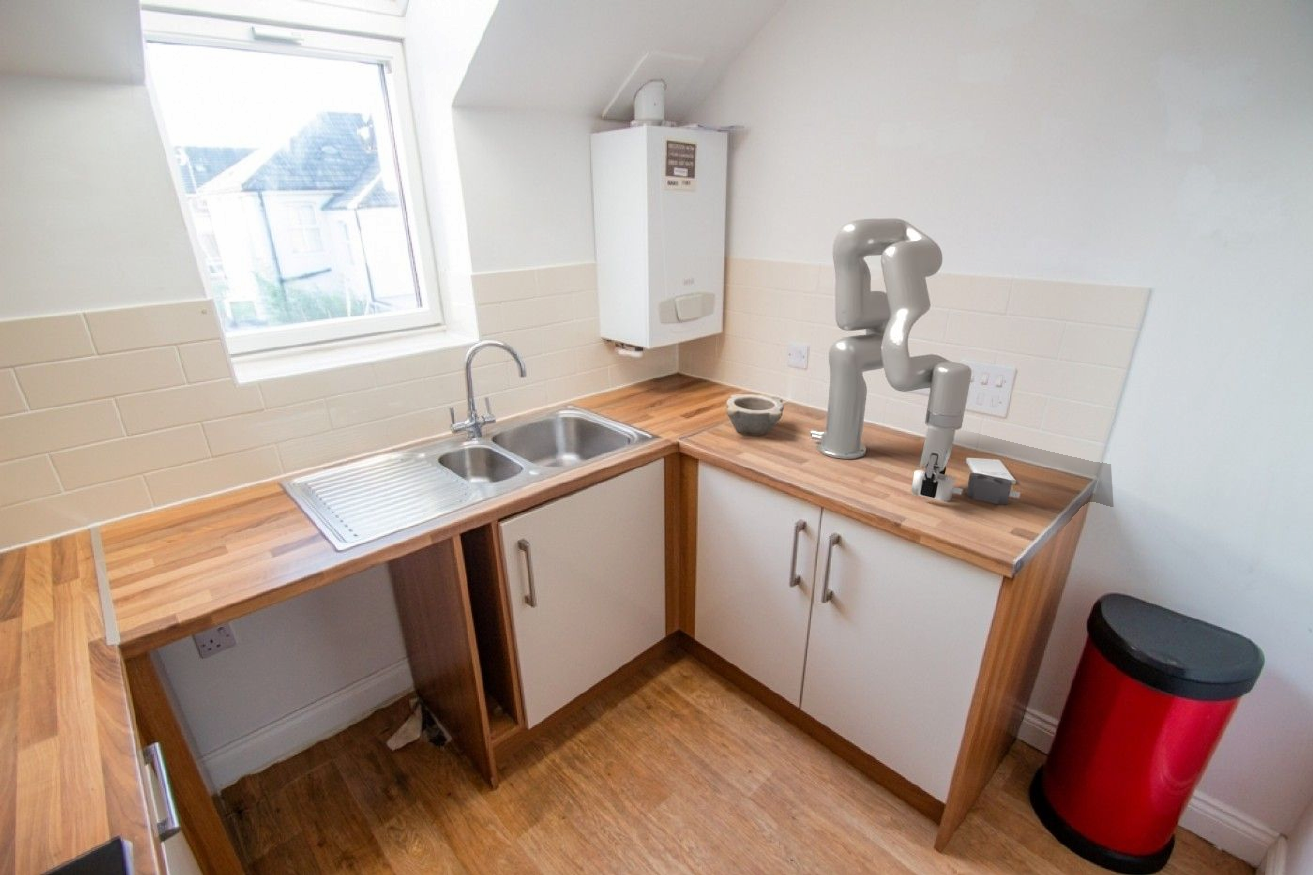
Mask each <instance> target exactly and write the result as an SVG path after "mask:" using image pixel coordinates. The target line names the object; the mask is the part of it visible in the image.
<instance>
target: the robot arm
mask: <svg viewBox="0 0 1313 875" xmlns="http://www.w3.org/2000/svg"><path fill="white" fill-rule="evenodd" d="M872 256H880V265H881V270H882V276H883V282H884V286H885V291H886V292H885V291H882V290H872V287H871V285H872V284H871V283H872V282H871V281H872V276H871V275H872V274H871V272H870V267H869V266H868V263H867V262H866V260H865V259H864V258H866V257H872ZM832 260H833V266H834V272H835V273H834V274H835V275H834V276H835V281H834V282H835V284H834V285H835V286H834V287H835V288H834V290H835V292H834V298H835V301H834V302H835V303H834V306H835V309H834V310H835V311H834V312H835V313H834V314H835V317H834V318H835V323H836V326H837V327H838V328H839V329H840V330H843V331H848V332H852V331H853V332H854V331H855V332H856V331H863V330H864V331H865V334H858V335H857V334H856V335H849V336H844V337H842V338H839V339H837V340H836V341H835V342H834V343H832V345H831V346H830V349H829V350H828V351H829V352H828V364H829V376H830V377H829V394H828V403H827V414H826V423H825V424H826V425H825V430H823V431H820V430H816V429H811V430H810V437H811V439H812V440H815V441H816V440H817V441H819V442H818V447H817V449H818V451H819V452H820V453H821V454H824V455H826V456H827V457H831V458H835V459H842V460H843V459H844V460H854V459H859V458H861V457H864V456H865V455H866V453H867V452H866V451H867V448H866V446H865V445H864V444H862V436H863V428H864V419H865V411H866V404H867V396H868V395H867V394H868V387H867V383H866V380H865V379H864V376H863V373H865V372H868V371H875V370H880V369H883V371H884V374H885V377H886V380H887V382H888V384H889V385H890V387H891V388H893V390H895V391H897V392H901V393H903V392H904V393H905V392H912V391H917V390H924V389H929V394H928V395H929V396H928V401H927V405H926V406H927V408H926V413H925V421H924V424H925V425H926V426H927V429H926V430H927V431H926V434H925V439H924V443H923V448H922V453H921V457H920V462H919V467H920V468H921V469H923V468H925V473H924V477H923V479H922V485H921V491H920V494H921V495H923V496H927V497H926V498H928V497H931V498H930V499H932V498H935V496H936V491H937V486H938V481H937V479H938V475H939V473H940V474H944V475H946V469H947V464H948V462H949V459H950V456H951V453H952V449H953V444H954V439H955V435H956V431H958V430H960V429H962V428H963V421H964V416H965V411H966V407H967V406H966V405H967V400H968V396H969V390H970V385H971V379H972V373H973V372H972V369H971V367H970V366H969V365H967V364H964V363H960V362H954V361H951V360H949V359H946V358H945V357H943V356H941V355H938V354H933V353H932V354H931V353H930V354H924V355H917V356H915V355H913V356H910V352H909V345H908V344H909V342H908V341H909V335H910V333H911V332H910V331H911V329H912V328H913V326H914V325H915V323H916V322H917V321H918V320H919V319H920V318H921V317H922V316H924V315H925V314H926V313H927V312H928V311H929V310H930V308H931V299H930V296H929V295H930V294H929V290H928V286H927V280H926V278H928V277H931V276H934V275H936V274H937V273H938V272H939V270H940V269H941V268H942V267H941V266H942V264H943V253H942V250H941V247H940V246H939V244H938V243H937V242H936V241H935V240H934V239H932V238H931V237H929V236H928V235H927V234H926V233H925V232H923V231H921V230H919V229H918V228H917V227H915V226H914V225H913V224H911V223H910V222H908V221H906V220H904V219H902V218H897V217H896V218H893V217H892V218H891V217H890V218H862V219H861V218H860V219H856V220H853V221H850V222H848V223H846V224H844V225H843V226H842V227H841V228H840V229H839V231H837V233H836V235H835V237H834V240H833V243H832ZM933 472H935V473H936V474H934V473H933ZM923 496H922V497H923Z"/></svg>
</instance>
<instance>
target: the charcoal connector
mask: <svg viewBox="0 0 1313 875" xmlns="http://www.w3.org/2000/svg"><path fill="white" fill-rule="evenodd" d="M1012 485H1013V484H1012V482H1011V481H1010V480H1008V479H1004V478H999V477H994V476H990V475H985V474H980V473H973V472H972V473H970V474H969V476H968V480H967V485H966V486H967V487H966V491H965V495H966V496H967V497H968V498H970V499H972V500H973V499H974V500H977V501H982V502H987V503H989V504H990V503H991V504H996V505H1000V506H1005V505H1008V502H1009V498H1010V497H1012V498H1016V499H1020V496H1021V492H1020V491H1015V490H1012Z"/></svg>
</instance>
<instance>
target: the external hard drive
mask: <svg viewBox="0 0 1313 875" xmlns="http://www.w3.org/2000/svg"><path fill="white" fill-rule="evenodd" d="M965 463H966V464H967V466H968V467H969V469H970V470H971V472H972V473H980V474H985V475H990V476H994V477H999V478H1004V479H1008V480H1010V481H1011V482H1012V485H1016V483H1017V480H1016V479H1015V478H1014V476H1013V475H1012V473H1011V472H1010V471H1009V469H1008V468H1007V466H1006V465H1004V463H1003V462H1002V461H1001V460H1000V459H995V458H993V459H992V458H979V457H966V459H965Z"/></svg>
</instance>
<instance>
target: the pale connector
mask: <svg viewBox="0 0 1313 875" xmlns="http://www.w3.org/2000/svg"><path fill="white" fill-rule="evenodd" d="M925 470H926V469H925ZM925 470H924V469H916V470H914V473H913V478H912V484H911V489H910V490H911V491H910V492H911V494H913V495H916V496H920V497H924V498H929V499H933V500H937V501H942V502H949V501H951V500H952V496H953V494H956V495H960V496H961V495H962V494H963V492H964V489H963V488H959V487H955V486H954V485H955V479H956V478H954V476H951V475H948V474H945V475H944V474H940V473H939V475H938V479H937V481H938V486H937V491H936V496H935V498H931V497H927V496H923V495H921V494H920V491H921V485H922V479H923V477H924V473H925ZM933 473H934V474H936V473H935V472H933Z"/></svg>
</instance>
